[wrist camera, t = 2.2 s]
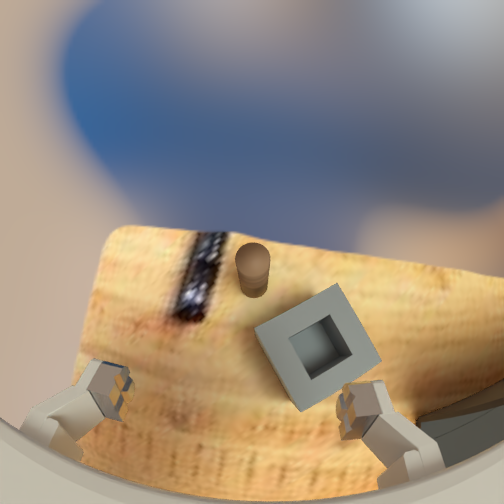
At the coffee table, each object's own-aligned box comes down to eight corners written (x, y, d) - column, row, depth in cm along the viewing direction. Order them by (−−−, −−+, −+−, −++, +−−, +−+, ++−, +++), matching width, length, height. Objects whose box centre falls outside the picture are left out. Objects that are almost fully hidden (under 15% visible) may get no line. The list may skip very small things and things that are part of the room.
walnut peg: (272, 290, 37) (276, 265, 28) (248, 302, 36) (244, 281, 27) (259, 268, 38) (260, 237, 29) (236, 279, 38) (229, 251, 28)
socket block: (357, 362, 33) (381, 360, 25) (291, 401, 31) (300, 412, 24) (321, 299, 36) (337, 282, 29) (255, 335, 35) (254, 328, 27)
